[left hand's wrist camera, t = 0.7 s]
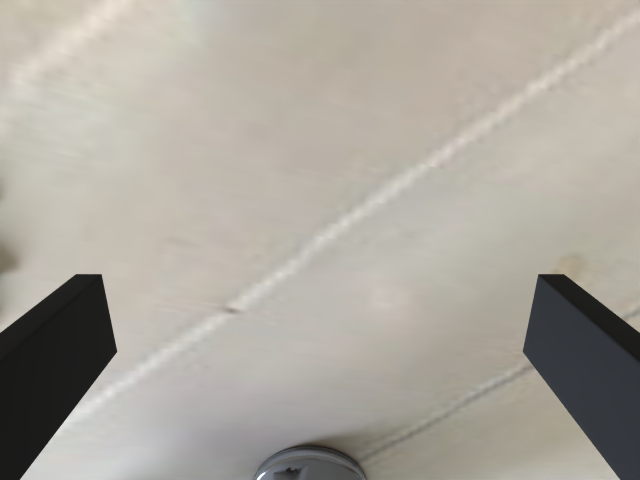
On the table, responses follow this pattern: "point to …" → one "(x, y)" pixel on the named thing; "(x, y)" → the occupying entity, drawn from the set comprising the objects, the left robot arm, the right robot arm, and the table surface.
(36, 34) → the table surface
